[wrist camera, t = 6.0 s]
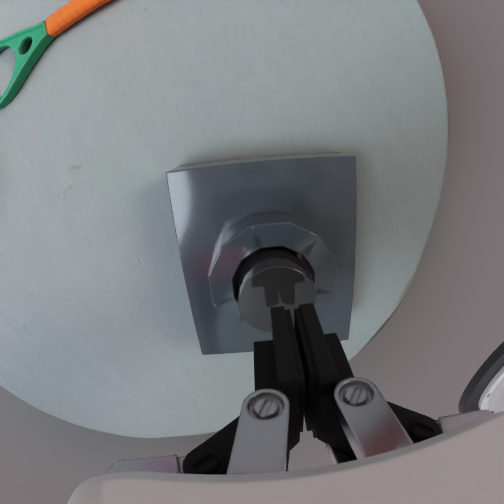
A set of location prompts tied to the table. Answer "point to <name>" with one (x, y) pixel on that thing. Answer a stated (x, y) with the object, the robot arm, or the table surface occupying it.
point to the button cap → (272, 287)
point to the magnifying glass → (41, 41)
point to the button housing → (264, 236)
